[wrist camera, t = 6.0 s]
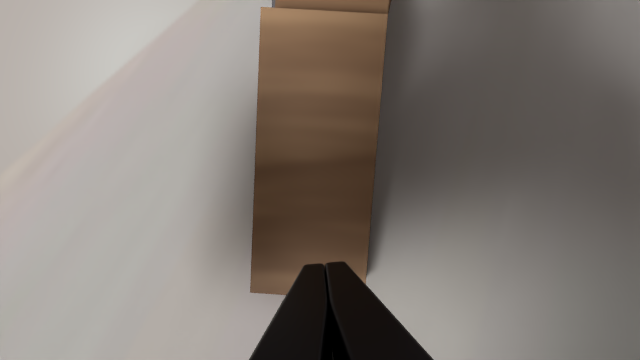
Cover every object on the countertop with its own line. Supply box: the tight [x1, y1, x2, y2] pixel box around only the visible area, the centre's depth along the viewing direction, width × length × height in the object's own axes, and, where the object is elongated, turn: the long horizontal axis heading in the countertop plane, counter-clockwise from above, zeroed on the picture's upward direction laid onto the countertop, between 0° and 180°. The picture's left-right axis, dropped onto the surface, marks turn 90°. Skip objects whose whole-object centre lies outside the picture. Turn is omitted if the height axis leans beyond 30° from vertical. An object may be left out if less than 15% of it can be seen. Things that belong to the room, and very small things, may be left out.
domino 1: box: [250, 7, 388, 295], centre depth 14 cm, size 2×4×10 cm
